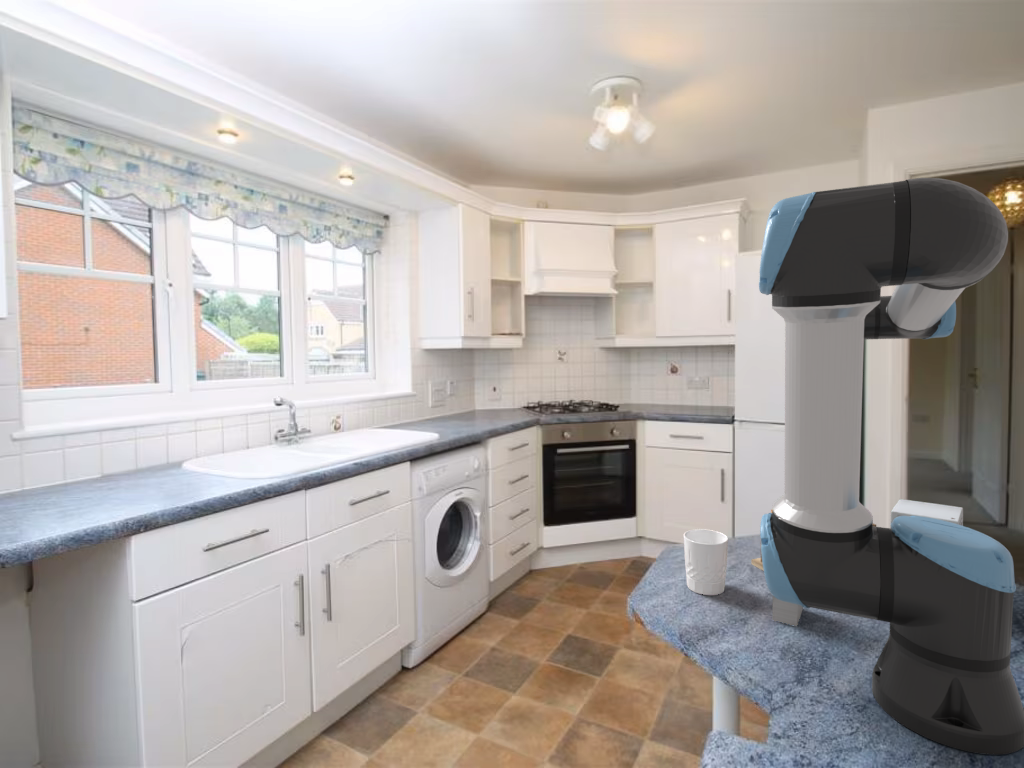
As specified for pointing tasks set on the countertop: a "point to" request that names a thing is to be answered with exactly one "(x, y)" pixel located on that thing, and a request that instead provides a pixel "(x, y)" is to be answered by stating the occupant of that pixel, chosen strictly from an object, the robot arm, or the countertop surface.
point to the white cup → (705, 561)
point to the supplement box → (927, 511)
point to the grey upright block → (786, 612)
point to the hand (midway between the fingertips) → (822, 486)
